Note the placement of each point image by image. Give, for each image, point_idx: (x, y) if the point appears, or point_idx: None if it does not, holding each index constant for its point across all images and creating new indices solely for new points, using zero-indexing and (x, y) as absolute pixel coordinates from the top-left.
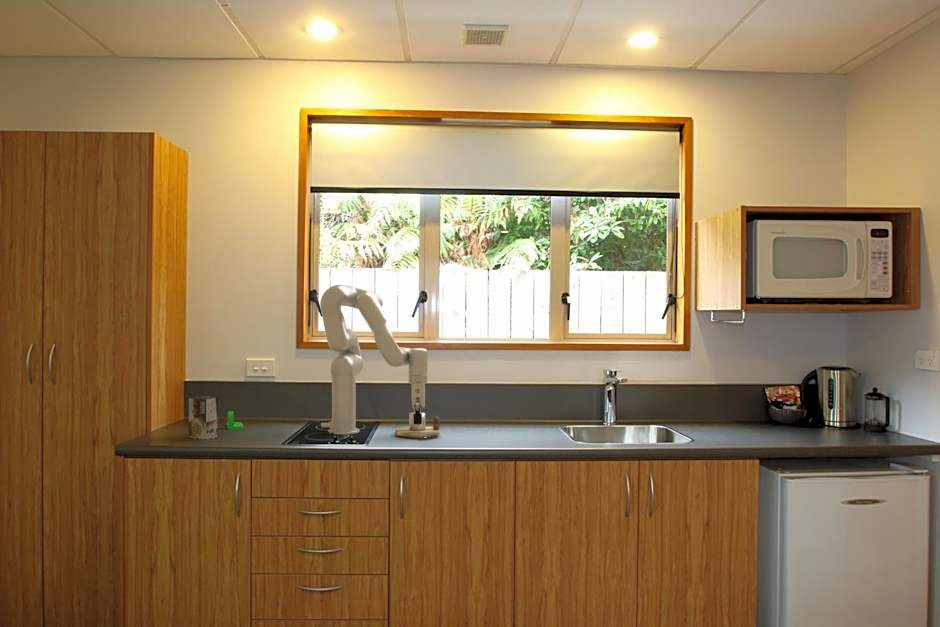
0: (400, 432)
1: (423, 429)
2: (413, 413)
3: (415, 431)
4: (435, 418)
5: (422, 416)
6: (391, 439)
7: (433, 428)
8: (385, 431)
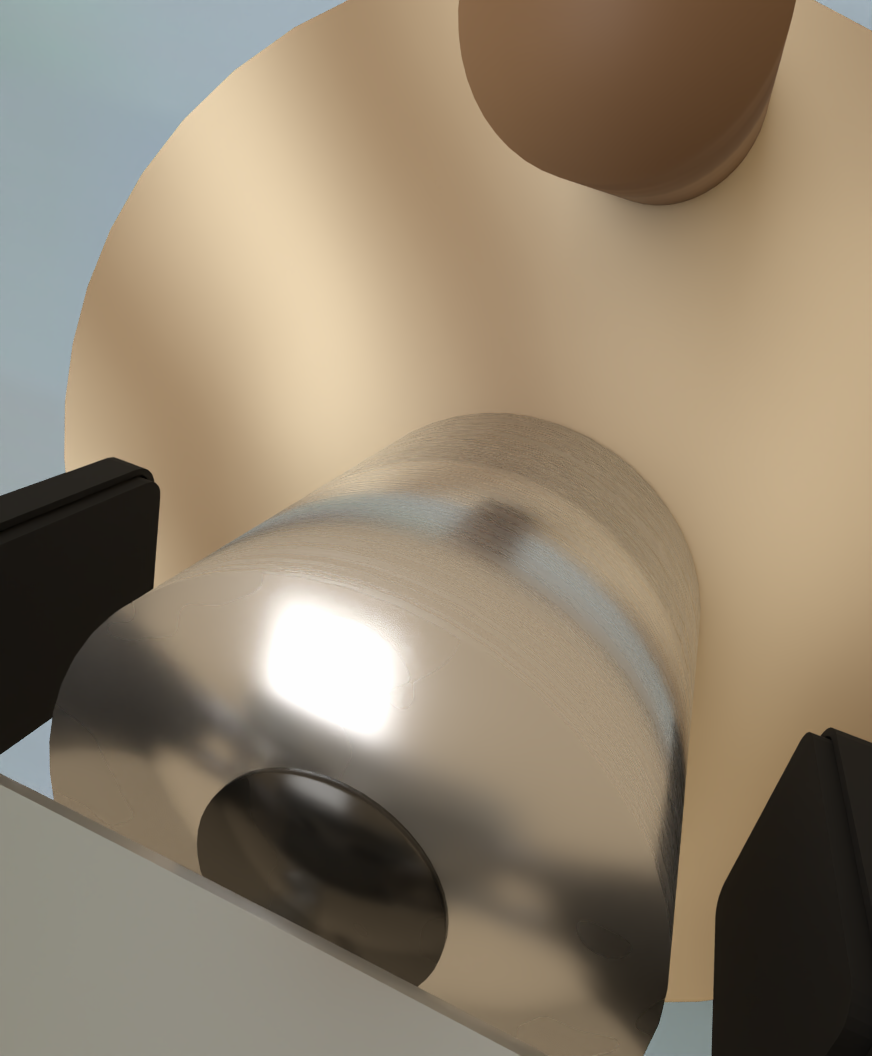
0: (709, 996)
1: (670, 517)
2: None
3: (734, 724)
4: (755, 106)
5: (652, 765)
6: (695, 1011)
7: (657, 204)
8: (51, 789)
